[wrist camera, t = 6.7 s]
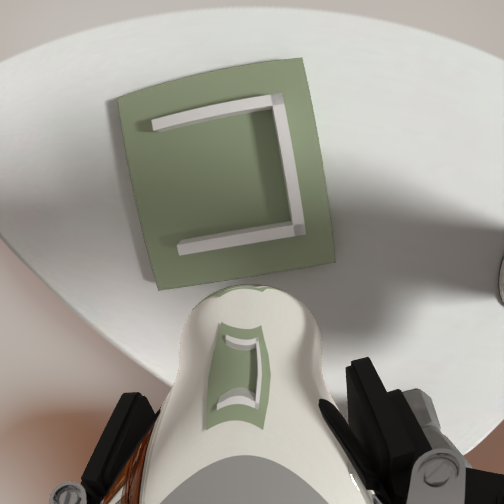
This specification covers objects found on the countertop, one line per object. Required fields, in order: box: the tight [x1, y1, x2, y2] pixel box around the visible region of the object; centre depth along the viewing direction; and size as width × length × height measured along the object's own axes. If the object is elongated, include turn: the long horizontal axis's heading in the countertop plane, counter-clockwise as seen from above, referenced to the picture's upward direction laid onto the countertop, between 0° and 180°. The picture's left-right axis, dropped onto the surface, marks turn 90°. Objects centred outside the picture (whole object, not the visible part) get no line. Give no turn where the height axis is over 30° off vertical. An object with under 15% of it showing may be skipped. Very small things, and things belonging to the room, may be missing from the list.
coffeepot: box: [402, 389, 472, 468], centre depth 31 cm, size 15×9×18 cm, turn 28°
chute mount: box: [118, 58, 335, 291], centre depth 29 cm, size 18×20×4 cm
